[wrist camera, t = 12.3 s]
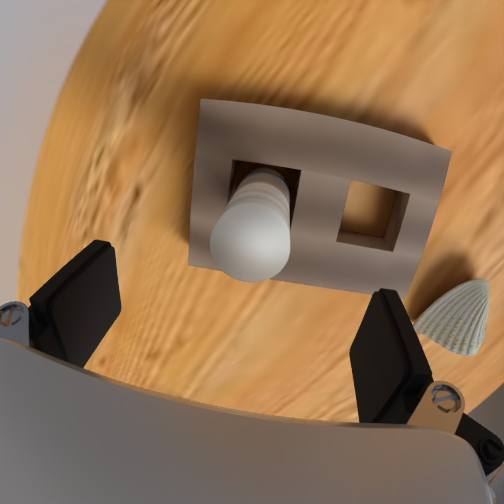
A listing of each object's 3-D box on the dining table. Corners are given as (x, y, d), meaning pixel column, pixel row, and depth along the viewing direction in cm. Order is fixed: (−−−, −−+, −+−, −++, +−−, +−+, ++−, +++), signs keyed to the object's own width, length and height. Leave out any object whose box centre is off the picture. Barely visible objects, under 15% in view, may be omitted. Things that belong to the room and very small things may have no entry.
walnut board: (210, 100, 23) (200, 98, 20) (436, 146, 22) (451, 151, 20) (196, 250, 29) (188, 265, 27) (395, 282, 29) (404, 299, 26)
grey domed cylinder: (244, 161, 25) (212, 201, 14) (293, 168, 25) (298, 215, 14) (238, 207, 27) (206, 275, 16) (285, 214, 27) (283, 289, 16)
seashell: (500, 312, 26) (469, 371, 26) (446, 286, 33) (414, 338, 32) (508, 280, 21) (474, 352, 20) (441, 250, 28) (404, 313, 27)
